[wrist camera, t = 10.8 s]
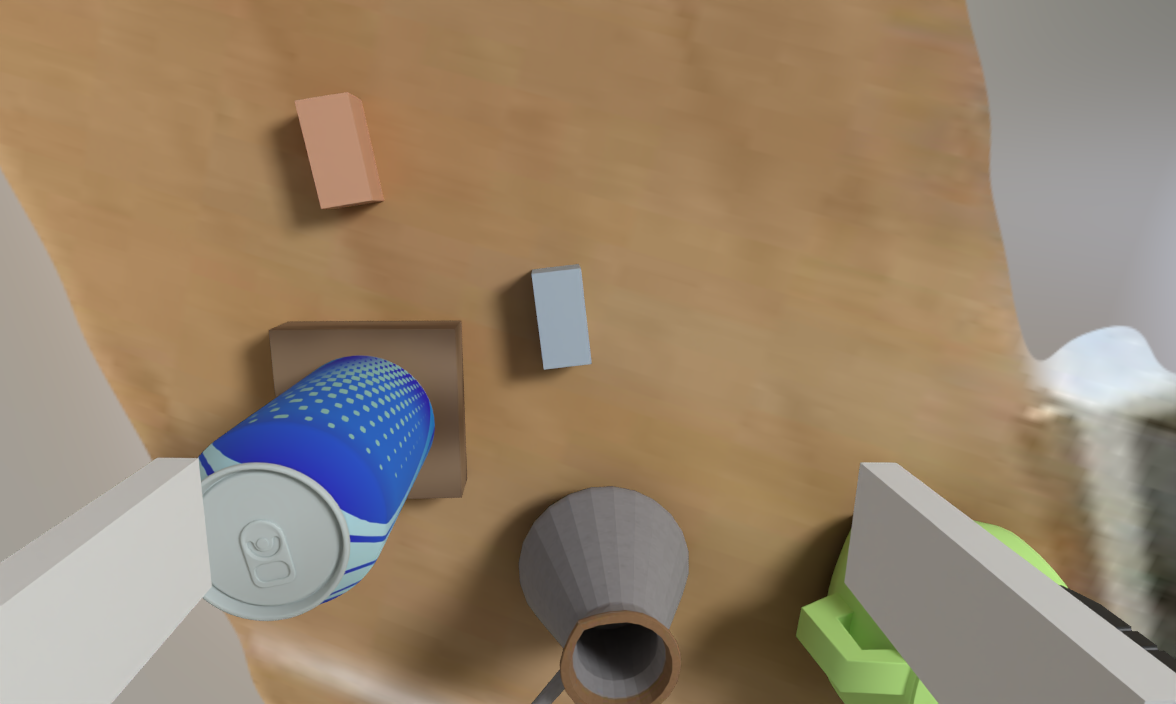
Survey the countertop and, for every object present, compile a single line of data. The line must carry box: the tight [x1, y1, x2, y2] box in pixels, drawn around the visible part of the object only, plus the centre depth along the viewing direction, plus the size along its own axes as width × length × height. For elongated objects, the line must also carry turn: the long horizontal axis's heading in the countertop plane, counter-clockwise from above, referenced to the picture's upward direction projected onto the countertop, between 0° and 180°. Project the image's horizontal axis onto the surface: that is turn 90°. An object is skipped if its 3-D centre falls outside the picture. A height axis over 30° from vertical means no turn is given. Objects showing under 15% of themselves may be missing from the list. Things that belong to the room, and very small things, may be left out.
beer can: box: [198, 355, 435, 621], centre depth 33 cm, size 8×8×16 cm
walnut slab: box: [269, 321, 467, 499], centre depth 42 cm, size 11×11×3 cm
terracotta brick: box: [295, 92, 384, 209], centre depth 39 cm, size 6×3×3 cm, turn 9°
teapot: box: [796, 520, 1068, 704], centre depth 44 cm, size 18×20×13 cm
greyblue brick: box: [532, 264, 592, 370], centre depth 42 cm, size 6×3×3 cm, turn 6°
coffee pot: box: [519, 486, 688, 704], centre depth 40 cm, size 21×12×15 cm, turn 130°
